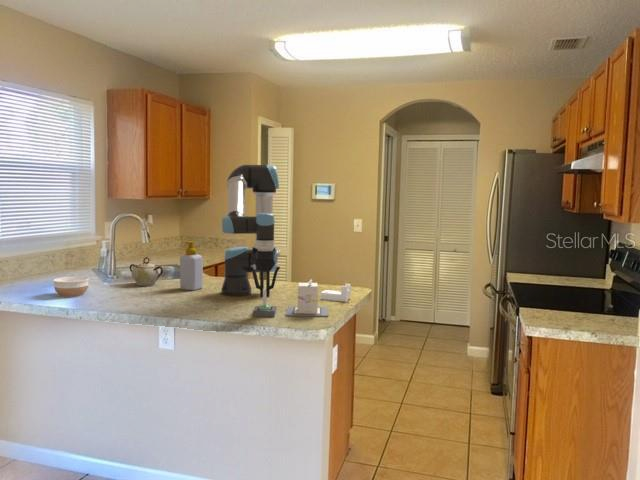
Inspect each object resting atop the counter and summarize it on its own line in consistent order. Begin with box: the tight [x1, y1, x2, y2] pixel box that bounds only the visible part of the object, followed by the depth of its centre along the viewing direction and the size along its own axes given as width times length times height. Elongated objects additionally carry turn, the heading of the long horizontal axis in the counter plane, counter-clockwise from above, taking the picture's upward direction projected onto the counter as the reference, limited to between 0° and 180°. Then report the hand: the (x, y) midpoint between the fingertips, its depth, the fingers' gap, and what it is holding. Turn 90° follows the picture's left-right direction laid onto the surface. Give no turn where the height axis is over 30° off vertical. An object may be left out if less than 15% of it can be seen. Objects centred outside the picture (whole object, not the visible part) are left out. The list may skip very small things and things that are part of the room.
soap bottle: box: [179, 240, 204, 291], centre depth 277 cm, size 9×9×25 cm
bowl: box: [52, 275, 90, 298], centre depth 259 cm, size 16×16×8 cm
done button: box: [258, 304, 272, 310], centre depth 226 cm, size 5×5×3 cm
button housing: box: [252, 305, 277, 318], centre depth 227 cm, size 9×9×2 cm
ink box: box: [297, 278, 319, 313], centre depth 231 cm, size 9×8×13 cm
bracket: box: [320, 283, 352, 302], centre depth 259 cm, size 13×7×8 cm, turn 69°
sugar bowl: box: [129, 256, 164, 287], centre depth 288 cm, size 20×15×15 cm
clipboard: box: [285, 305, 329, 318], centre depth 232 cm, size 18×16×1 cm
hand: (264, 304), depth 226 cm, fingers closed
